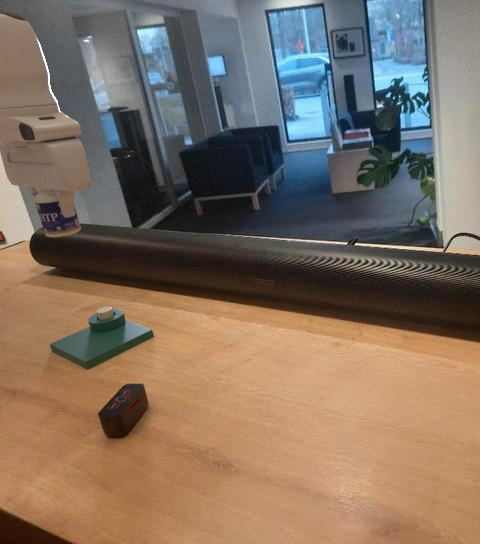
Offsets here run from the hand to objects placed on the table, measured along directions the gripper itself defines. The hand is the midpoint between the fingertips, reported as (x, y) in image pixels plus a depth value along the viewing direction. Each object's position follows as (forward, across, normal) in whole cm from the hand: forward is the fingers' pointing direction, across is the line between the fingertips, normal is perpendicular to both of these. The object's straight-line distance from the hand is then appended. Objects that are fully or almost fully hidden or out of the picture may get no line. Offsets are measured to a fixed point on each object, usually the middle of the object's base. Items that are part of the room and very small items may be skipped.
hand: (58, 214), depth 80 cm
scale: (+20, +10, -4) cm, 22 cm away
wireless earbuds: (+20, +31, -13) cm, 39 cm away
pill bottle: (+3, 0, 0) cm, 3 cm away
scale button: (+17, +7, -1) cm, 18 cm away
